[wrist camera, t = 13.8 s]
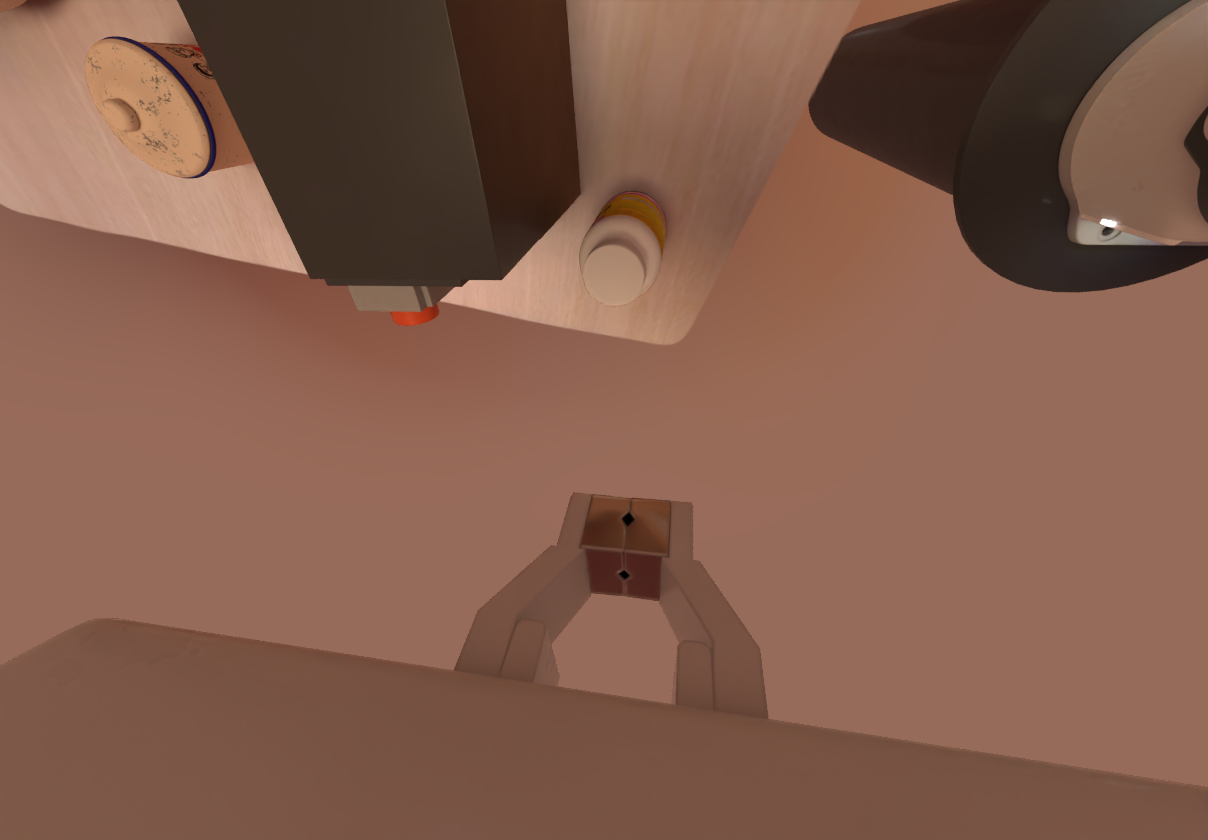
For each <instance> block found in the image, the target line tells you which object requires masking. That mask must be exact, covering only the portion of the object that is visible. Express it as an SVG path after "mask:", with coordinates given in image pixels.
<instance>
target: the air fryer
mask: <svg viewBox="0 0 1208 840" xmlns="http://www.w3.org/2000/svg"><path fill="white" fill-rule="evenodd" d="M177 1H178V3H179V5H180V7H181V9H182V11H183V13H184V15H185V18H186V20H187V22H188V24H189V26H190V28H191V30H192V32H193V34H194V36H195V38H196V41H197V43H198V45H199V47H200V49H201V51H202V53H203V55H204V57H205V59H206V62H207V64H208V66H209V68H210V70H211V72H212V74H213V76H214V78H215V80H216V82H217V85H218V87H219V89H220V91H221V93H222V95H223V97H224V99H225V101H226V103H227V105H228V108H229V110H230V112H231V114H232V116H233V118H234V120H235V122H236V124H237V126H238V128H239V131H240V133H241V135H242V137H243V139H244V141H245V143H246V145H247V147H248V149H249V152H250V154H251V156H252V158H253V160H254V162H255V164H256V166H257V168H258V170H259V172H260V175H261V177H262V179H263V181H264V183H265V185H266V187H267V189H268V191H269V193H270V195H271V198H272V200H273V202H274V204H275V206H276V208H277V210H278V212H279V214H280V216H281V219H282V221H283V223H284V225H285V227H286V229H287V231H288V233H289V235H290V237H291V239H292V242H293V244H294V246H295V248H296V250H297V252H298V254H299V256H300V258H301V260H302V262H303V265H304V267H305V269H306V271H307V273H308V275H309V277H310V279H325V281H326V283H327V285H328V286H329V285H330V286H335V285H336V286H348V289H349V291H350V293H351V296H352V298H353V300H354V303H355V305H356V307H357V310H358V311H401V312H422V311H423V310H424V309H425V308H426V307H433V306H434V305H435V304H437V303H438V302H439V301H440V300H441V299H442V298H443V297H444V296H445V295H446V294H448V293H449V292H450V291H451V290H452V289H453V288H454V287H462V286H463V285H464V284H465V283H466V282H467V281H469V280H502V279H503V278H504V277H505V276H506V275H507V274H508V273H509V272H510V271H511V269H512V268H513V267H514V266H515V265H516V264H517V263H518V262H519V261H520V260H521V259H522V257H523V256H524V255H525V254H526V253H527V252H528V251H529V250H530V249H531V248H532V247H533V245H534V244H535V243H536V242H537V241H538V240H539V239H541V238H542V237H543V236H544V234H545V233H546V232H547V231H548V230H549V229H550V228H551V227H552V226H553V225H554V223H555V222H556V221H557V220H558V219H559V218H560V217H561V216H562V215H563V214H564V212H565V211H566V210H567V209H568V208H569V207H570V206H571V205H572V204H573V203H574V201H575V200H576V198H577V197H578V196H579V195H580V194H581V191H580V178H579V165H578V152H577V139H576V126H575V114H574V101H573V88H572V75H571V62H570V49H569V36H568V23H567V10H566V0H177Z"/></svg>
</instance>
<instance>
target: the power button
mask: <svg viewBox="0 0 1208 840" xmlns="http://www.w3.org/2000/svg"><path fill="white" fill-rule="evenodd" d="M390 313H391V315H392V318H393V321H394V322H395V323H396V324H399V325H405V326H409V325H417V324H422V323H425V322H428V321H430V320H432V319H434V318H435V317H437V316H438V314H439V308H438V305H437V304H435V305H434V306H433V307H426V308H425V309H424V310H423V311H422V312H401V311H390Z"/></svg>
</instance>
